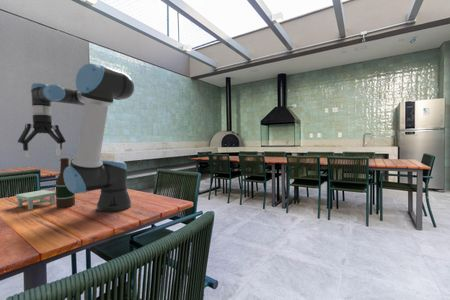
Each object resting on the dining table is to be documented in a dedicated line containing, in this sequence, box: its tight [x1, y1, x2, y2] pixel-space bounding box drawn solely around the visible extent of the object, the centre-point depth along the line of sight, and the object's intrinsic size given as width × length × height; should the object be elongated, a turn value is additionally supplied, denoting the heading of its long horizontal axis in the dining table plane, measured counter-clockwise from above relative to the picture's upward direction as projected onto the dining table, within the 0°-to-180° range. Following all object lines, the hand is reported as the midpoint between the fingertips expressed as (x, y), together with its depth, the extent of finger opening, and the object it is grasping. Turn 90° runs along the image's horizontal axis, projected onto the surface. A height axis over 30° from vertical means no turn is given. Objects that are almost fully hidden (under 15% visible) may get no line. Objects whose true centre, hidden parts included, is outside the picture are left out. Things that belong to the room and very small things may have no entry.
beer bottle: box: [55, 157, 76, 209], centre depth 115 cm, size 8×8×24 cm
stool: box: [14, 189, 56, 211], centre depth 116 cm, size 12×12×6 cm
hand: (44, 156), depth 118 cm, fingers open, 13 cm apart
